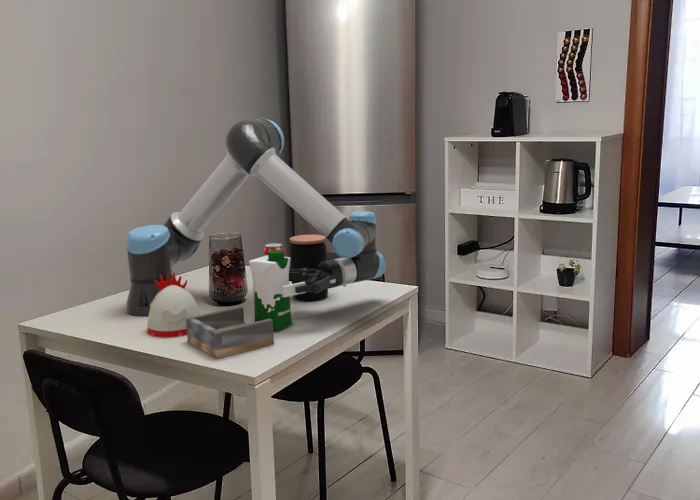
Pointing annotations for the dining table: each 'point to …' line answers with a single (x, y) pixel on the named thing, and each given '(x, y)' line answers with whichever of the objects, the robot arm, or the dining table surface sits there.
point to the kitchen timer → (171, 309)
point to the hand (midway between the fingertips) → (268, 286)
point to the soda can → (272, 248)
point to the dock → (228, 332)
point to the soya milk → (271, 288)
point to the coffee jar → (308, 260)
